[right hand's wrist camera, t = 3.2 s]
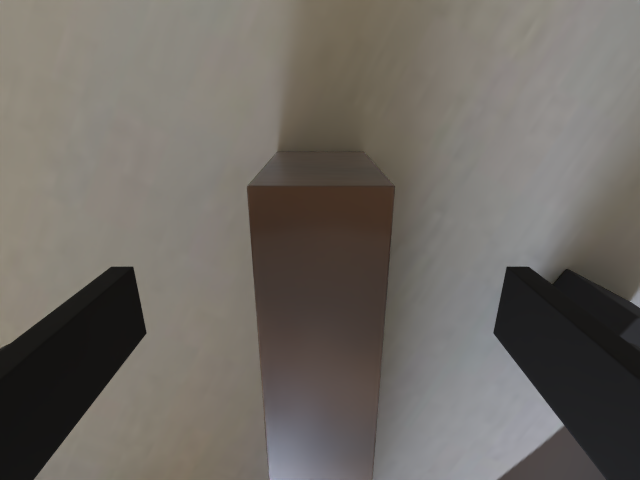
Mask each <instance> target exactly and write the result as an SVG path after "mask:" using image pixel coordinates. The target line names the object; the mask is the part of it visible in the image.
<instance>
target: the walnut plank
mask: <svg viewBox="0 0 640 480" xmlns="http://www.w3.org/2000/svg"><path fill="white" fill-rule="evenodd" d="M247 194H248V207H249V221H250V234H251V247H252V261H253V274H254V287H255V301H256V314H257V327H258V340H259V354H260V367H261V380H262V394H263V407H264V420H265V433H266V447H267V460H268V473H269V480H372V478H373V465H374V452H375V439H376V426H377V414H378V401H379V388H380V375H381V362H382V349H383V336H384V323H385V310H386V297H387V284H388V271H389V258H390V245H391V232H392V219H393V206H394V194H395V186H394V185H393V184H392V183H391V182H390V180H389V179H388V178H387V177H386V176H385V175H384V174H383V173H382V171H381V170H380V169H379V168H378V167H377V166H376V165H375V164H374V162H373V161H372V160H371V159H370V158H369V157H368V156H367V155H366V153H365V152H277V153H276V154H275V155H274V156H273V157H272V158H271V160H270V161H269V162H268V163H267V164H266V165H265V166H264V168H263V169H262V170H261V171H260V172H259V173H258V174H257V176H256V177H255V178H254V179H253V180H252V181H251V182H250V184H249V185H248V186H247Z"/></svg>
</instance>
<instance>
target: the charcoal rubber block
mask: <svg viewBox="0 0 640 480" xmlns="http://www.w3.org/2000/svg"><path fill="white" fill-rule="evenodd" d="M553 286H555V287H556V288H557V289H558V290H560V291H561V292H562V293H564V294H565V295H566V296H568V297H569V298H570V299H572V300H573V301H574V302H576V303H577V304H578V305H580V306H581V307H582V308H584V309H585V310H586V311H587V312H589V313H590V314H591V315H593V316H594V317H595V318H597V319H598V320H599V321H601V322H602V323H603V324H605V325H606V326H607V327H609V328H610V329H611V330H612V331H614V332H615V333H616V334H618V335H619V336H620V337H622V338H623V339H624V340H626V341H627V342H628V343H633V344H635V345H637V346H639V347H640V308H639V307H637V306H636V305H634V304H633V303H631V302H629V301H627V300H626V299H624V298H622V297H620V296H618V295H616V294H614V293H612V292H610V291H609V290H607V289H605V288H603V287H601V286H599V285H597V284H595V283H593V282H591V281H590V280H588V279H586V278H584V277H582V276H580V275H578V274H576V273H574V272H573V271H571V270H569V269H566V270H565V271H564V273H563V274H562V275H561V276H560V277H559V279H558V280H557V281H556V282H555V283H554V285H553Z"/></svg>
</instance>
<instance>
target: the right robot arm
mask: <svg viewBox="0 0 640 480" xmlns="http://www.w3.org/2000/svg"><path fill="white" fill-rule="evenodd" d="M145 335H146V328H145V323H144V318H143V313H142V308H141V303H140V298H139V293H138V288H137V283H136V278H135V273H134V268H133V267H110V268H109V269H108V270H107V271H105V272H104V273H103V274H101V275H100V276H99V277H97V278H96V279H95V280H93V281H92V282H91V283H89V284H88V285H87V286H85V287H84V288H83V289H82V290H80V291H79V292H78V293H76V294H75V295H74V296H72V297H71V298H70V299H68V300H67V301H66V302H64V303H63V304H62V305H60V306H59V307H58V308H56V309H55V310H54V311H53V312H51V313H50V314H49V315H47V316H46V317H45V318H43V319H42V320H41V321H39V322H38V323H37V324H35V325H34V326H33V327H31V328H30V329H29V330H28V331H26V332H25V333H24V334H22V335H21V336H20V337H18V338H17V339H16V340H14V341H13V342H12V343H10V344H8V345H6V346H4V347H2V348H0V480H34V478H35V477H36V476H37V475H38V473H39V472H40V471H41V469H42V468H43V467H44V465H45V464H46V463H47V462H48V460H49V459H50V458H51V456H52V455H53V454H54V452H55V451H56V450H57V449H58V447H59V446H60V445H61V443H62V442H63V441H64V440H65V438H66V437H67V436H68V434H69V433H70V432H71V430H72V429H73V428H74V427H75V425H76V424H77V423H78V421H79V420H80V419H81V417H82V416H83V415H84V414H85V412H86V411H87V410H88V408H89V407H90V406H91V405H92V403H93V402H94V401H95V399H96V398H97V397H98V395H99V394H100V393H101V392H102V390H103V389H104V388H105V386H106V385H107V384H108V383H109V381H110V380H111V379H112V377H113V376H114V375H115V373H116V372H117V371H118V370H119V368H120V367H121V366H122V364H123V363H124V362H125V360H126V359H127V358H128V357H129V355H130V354H131V353H132V351H133V350H134V349H135V348H136V346H137V345H138V344H139V342H140V341H141V340H142V338H143V337H144V336H145ZM494 335H495V336H496V337H497V338H498V340H499V341H500V342H501V344H502V345H503V346H504V348H505V349H506V350H507V351H508V353H509V354H510V355H511V357H512V358H513V359H514V360H515V362H516V363H517V364H518V366H519V367H520V368H521V370H522V371H523V372H524V373H525V375H526V376H527V377H528V379H529V380H530V381H531V383H532V384H533V385H534V386H535V388H536V389H537V390H538V392H539V393H540V394H541V395H542V397H543V398H544V399H545V401H546V402H547V403H548V405H549V406H550V407H551V408H552V410H553V411H554V412H555V414H556V415H557V416H558V418H559V419H560V420H561V421H562V423H563V424H564V425H565V427H566V428H567V429H568V430H569V432H570V433H571V434H572V436H573V437H574V438H575V439H576V441H577V442H578V443H579V445H580V446H581V447H582V449H583V450H584V451H585V452H586V454H587V455H588V456H589V458H590V459H591V460H592V462H593V463H594V464H595V465H596V467H597V468H598V469H599V471H600V472H601V473H602V475H603V476H604V477H605V478H606V480H640V347H639V346H637V345H635V344H633V343H628V342H627V341H626V340H624V339H623V338H622V337H620V336H619V335H618V334H616V333H615V332H614V331H612V330H611V329H610V328H609V327H607V326H606V325H605V324H603V323H602V322H601V321H599V320H598V319H597V318H595V317H594V316H593V315H591V314H590V313H589V312H587V311H586V310H585V309H584V308H582V307H581V306H580V305H578V304H577V303H576V302H574V301H573V300H572V299H570V298H569V297H568V296H566V295H565V294H564V293H562V292H561V291H560V290H558V289H557V288H556V287H555V286H553V285H552V284H551V283H549V282H548V281H547V280H545V279H544V278H543V277H541V276H540V275H539V274H537V273H536V272H535V271H533V270H532V269H531V268H530V267H507V268H506V273H505V278H504V283H503V288H502V293H501V298H500V303H499V308H498V313H497V318H496V323H495V328H494Z"/></svg>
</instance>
